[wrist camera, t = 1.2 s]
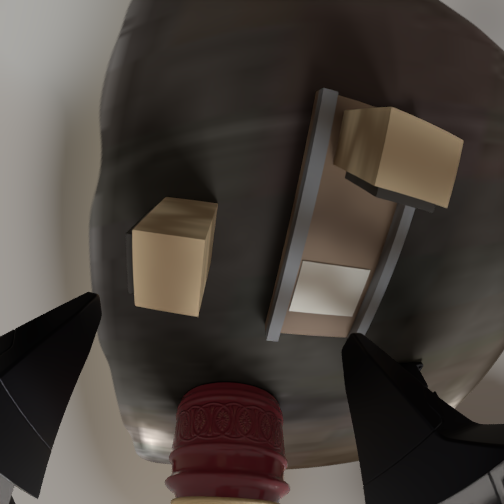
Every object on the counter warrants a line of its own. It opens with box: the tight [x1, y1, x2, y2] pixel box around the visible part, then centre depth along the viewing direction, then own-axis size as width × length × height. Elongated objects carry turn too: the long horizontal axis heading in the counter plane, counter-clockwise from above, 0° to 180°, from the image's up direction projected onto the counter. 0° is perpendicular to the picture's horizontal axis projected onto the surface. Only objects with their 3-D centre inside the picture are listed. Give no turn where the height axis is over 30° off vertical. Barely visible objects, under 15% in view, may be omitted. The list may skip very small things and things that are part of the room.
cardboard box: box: [126, 197, 218, 317], centre depth 19 cm, size 5×5×7 cm
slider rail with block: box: [265, 88, 463, 341], centre depth 18 cm, size 20×9×8 cm, turn 170°
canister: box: [165, 382, 290, 504], centre depth 24 cm, size 13×13×18 cm
